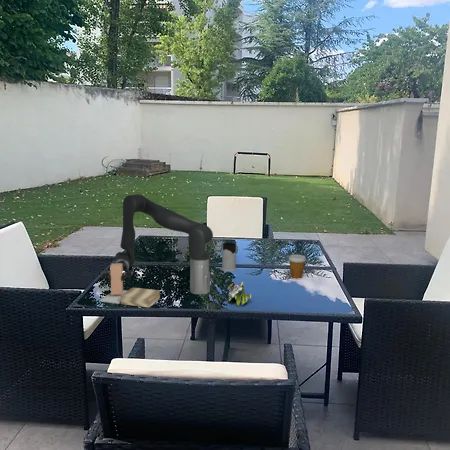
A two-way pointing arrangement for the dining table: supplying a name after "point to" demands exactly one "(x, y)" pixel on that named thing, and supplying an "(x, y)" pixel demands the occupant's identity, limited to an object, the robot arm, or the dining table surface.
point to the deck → (140, 297)
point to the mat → (113, 298)
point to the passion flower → (237, 290)
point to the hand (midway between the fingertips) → (116, 278)
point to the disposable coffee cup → (296, 265)
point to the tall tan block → (116, 278)
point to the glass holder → (229, 257)
